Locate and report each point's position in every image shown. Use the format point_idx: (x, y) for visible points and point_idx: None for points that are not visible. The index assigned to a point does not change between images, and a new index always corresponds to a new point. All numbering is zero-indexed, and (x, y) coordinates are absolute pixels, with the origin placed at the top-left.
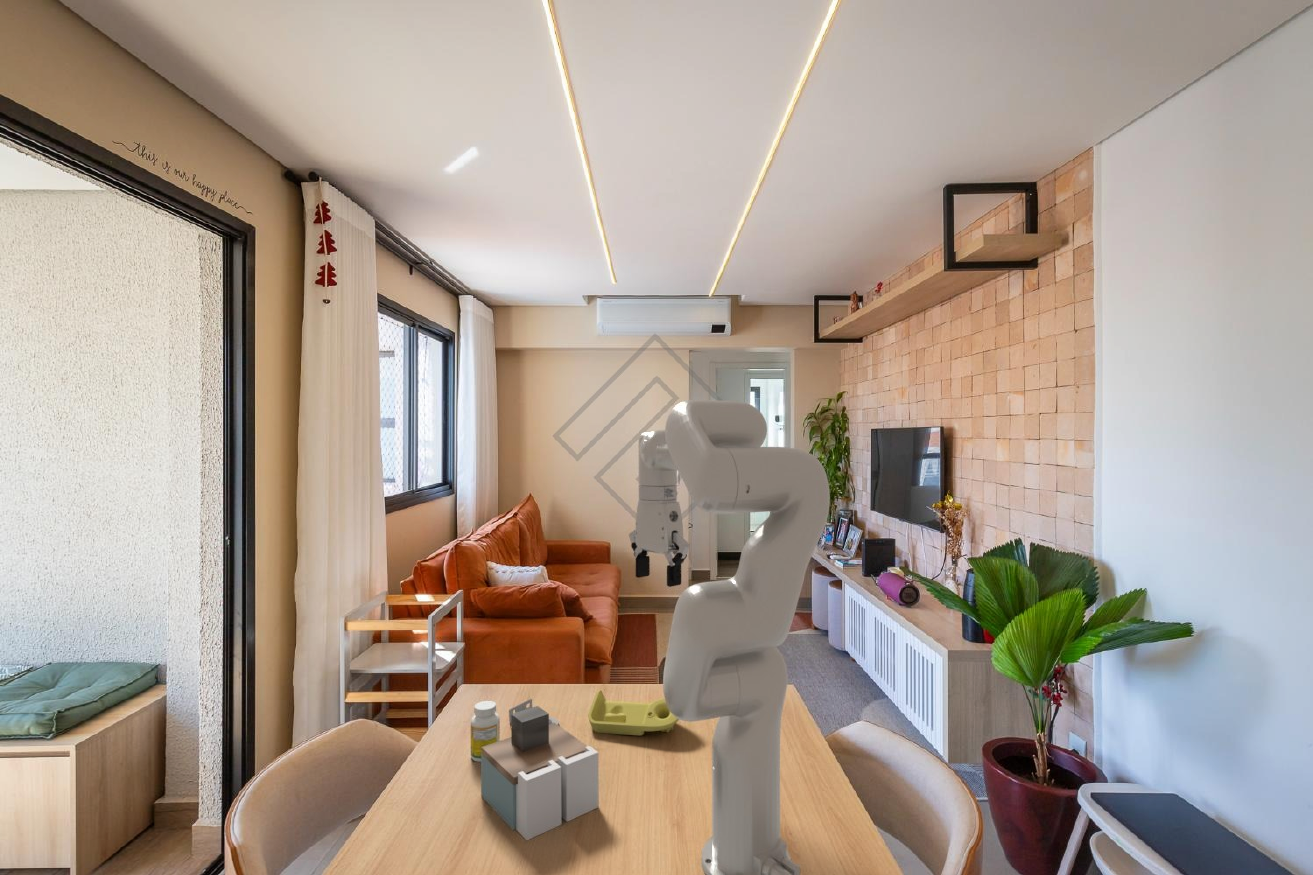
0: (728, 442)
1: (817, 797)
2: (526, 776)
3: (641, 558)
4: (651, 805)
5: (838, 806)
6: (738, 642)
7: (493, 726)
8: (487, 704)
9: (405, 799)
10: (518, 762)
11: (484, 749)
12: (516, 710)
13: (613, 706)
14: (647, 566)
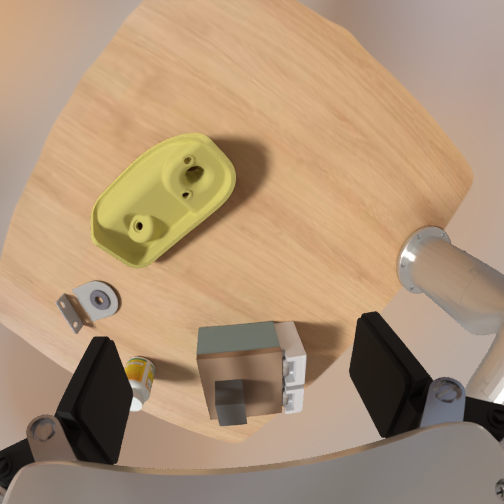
0: None
1: (417, 135)
2: (295, 410)
3: (106, 452)
4: (325, 279)
5: (433, 134)
6: None
7: (148, 388)
8: None
9: (184, 420)
10: (260, 405)
11: (216, 418)
12: (72, 322)
13: (122, 222)
14: (103, 383)
